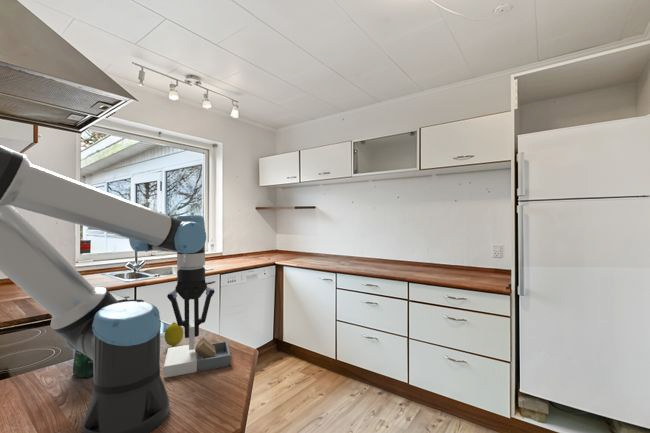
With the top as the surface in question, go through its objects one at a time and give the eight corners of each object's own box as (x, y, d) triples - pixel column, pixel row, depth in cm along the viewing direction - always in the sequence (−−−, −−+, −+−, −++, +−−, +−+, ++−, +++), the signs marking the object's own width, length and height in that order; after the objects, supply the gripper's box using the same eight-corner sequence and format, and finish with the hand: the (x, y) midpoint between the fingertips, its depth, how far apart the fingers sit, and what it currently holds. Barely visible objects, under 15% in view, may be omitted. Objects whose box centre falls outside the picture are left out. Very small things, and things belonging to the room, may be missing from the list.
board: (196, 371, 83) (196, 360, 83) (163, 378, 80) (163, 366, 80) (196, 353, 95) (196, 343, 95) (168, 357, 92) (168, 347, 92)
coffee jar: (79, 382, 79) (79, 310, 79) (69, 373, 83) (69, 305, 83) (121, 367, 86) (121, 301, 87) (110, 360, 91) (110, 298, 91)
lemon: (162, 346, 101) (162, 322, 101) (180, 342, 104) (180, 318, 104) (167, 351, 96) (167, 326, 97) (185, 346, 100) (185, 322, 100)
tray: (230, 365, 87) (230, 355, 87) (197, 371, 83) (197, 360, 83) (227, 350, 97) (227, 341, 97) (197, 355, 93) (197, 345, 94)
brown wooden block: (207, 361, 88) (215, 353, 89) (195, 351, 87) (203, 342, 88) (207, 354, 93) (214, 346, 94) (195, 344, 92) (203, 336, 92)
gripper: (214, 264, 95) (214, 339, 95) (167, 267, 90) (168, 347, 90) (215, 267, 88) (216, 348, 88) (165, 271, 83) (165, 357, 83)
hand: (192, 347), depth 89 cm, fingers closed
